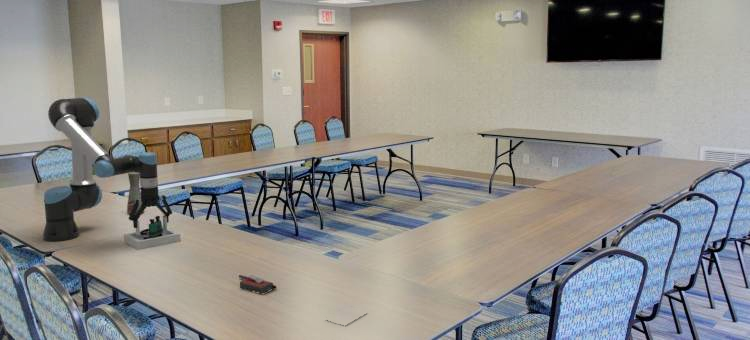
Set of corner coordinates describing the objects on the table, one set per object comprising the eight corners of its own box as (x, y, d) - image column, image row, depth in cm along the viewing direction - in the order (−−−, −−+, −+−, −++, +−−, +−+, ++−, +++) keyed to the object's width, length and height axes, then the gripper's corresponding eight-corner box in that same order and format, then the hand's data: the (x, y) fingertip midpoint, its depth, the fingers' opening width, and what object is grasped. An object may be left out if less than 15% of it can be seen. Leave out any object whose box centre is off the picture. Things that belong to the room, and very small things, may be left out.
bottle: (141, 215, 324) (138, 164, 319) (124, 215, 324) (121, 164, 319) (147, 211, 333) (144, 161, 328) (131, 211, 333) (128, 161, 328)
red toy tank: (280, 289, 222) (241, 278, 232) (280, 277, 221) (240, 267, 231) (264, 296, 214) (224, 285, 225) (264, 284, 214) (224, 274, 224)
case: (123, 241, 276) (123, 234, 276) (165, 233, 290) (165, 226, 289) (137, 249, 265) (137, 242, 264) (180, 240, 278) (180, 233, 278)
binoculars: (145, 215, 281) (164, 215, 279) (148, 237, 282) (167, 236, 280) (134, 220, 272) (153, 219, 270) (137, 242, 274) (156, 242, 272)
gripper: (125, 191, 262) (128, 238, 266) (178, 184, 278) (180, 229, 282) (119, 188, 267) (122, 235, 271) (171, 181, 284) (173, 225, 288)
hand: (151, 232), depth 277 cm, fingers open, 12 cm apart
